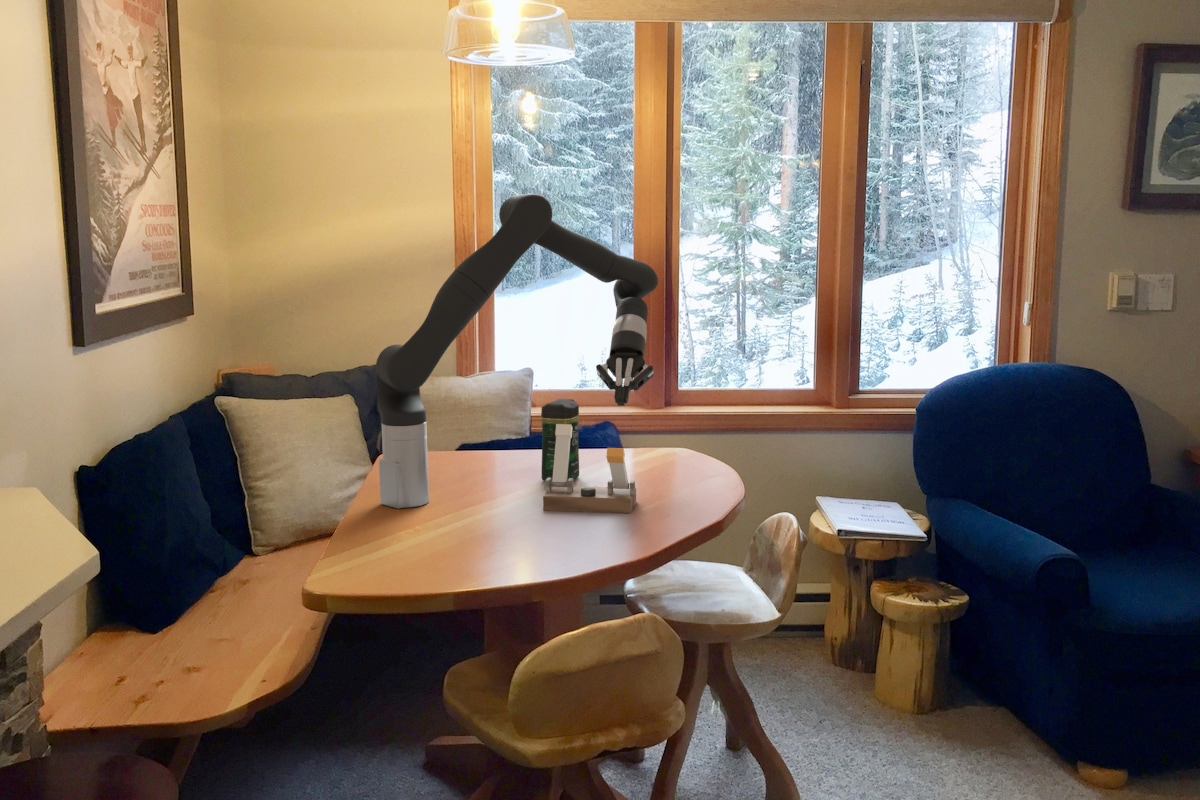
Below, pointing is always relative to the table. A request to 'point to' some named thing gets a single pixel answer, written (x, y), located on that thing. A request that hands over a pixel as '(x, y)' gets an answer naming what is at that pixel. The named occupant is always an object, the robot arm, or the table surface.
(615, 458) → the lever orange
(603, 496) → the console
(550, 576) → the table surface
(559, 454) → the lever ivory
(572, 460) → the coffee jar
